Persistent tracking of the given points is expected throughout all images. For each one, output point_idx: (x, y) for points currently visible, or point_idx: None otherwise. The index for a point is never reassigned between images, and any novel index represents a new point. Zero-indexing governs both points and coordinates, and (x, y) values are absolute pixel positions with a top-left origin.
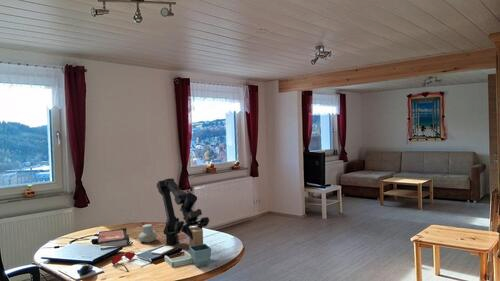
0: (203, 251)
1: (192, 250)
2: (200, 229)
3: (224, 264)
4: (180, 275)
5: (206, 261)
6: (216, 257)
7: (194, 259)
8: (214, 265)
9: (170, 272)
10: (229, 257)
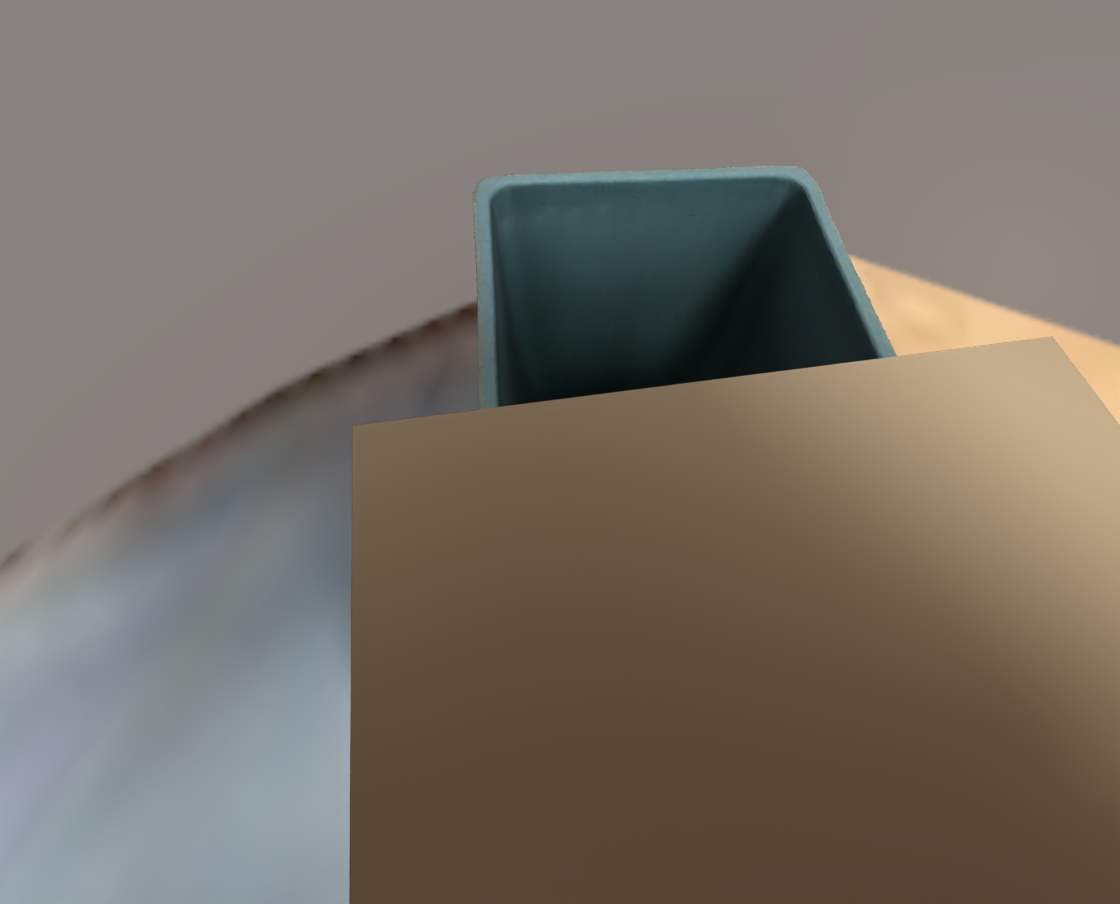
0: (634, 199)
1: (843, 267)
2: (515, 543)
3: (335, 366)
4: (914, 298)
5: (570, 358)
6: (274, 698)
7: (762, 347)
8: (463, 390)
9: None
10: (99, 584)
